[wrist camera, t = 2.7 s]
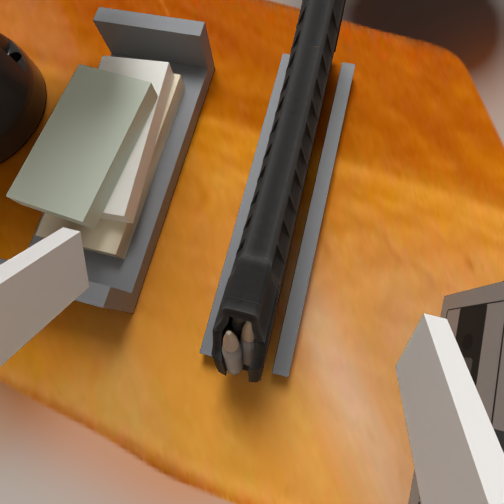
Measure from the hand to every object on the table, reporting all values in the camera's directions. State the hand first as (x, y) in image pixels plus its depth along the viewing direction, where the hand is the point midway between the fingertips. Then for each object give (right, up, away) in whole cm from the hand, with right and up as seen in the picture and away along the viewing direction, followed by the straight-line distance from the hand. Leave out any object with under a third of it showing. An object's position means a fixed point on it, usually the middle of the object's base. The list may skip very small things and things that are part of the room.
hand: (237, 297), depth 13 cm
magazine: (+3, +7, +17) cm, 18 cm away
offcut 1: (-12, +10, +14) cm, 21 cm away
